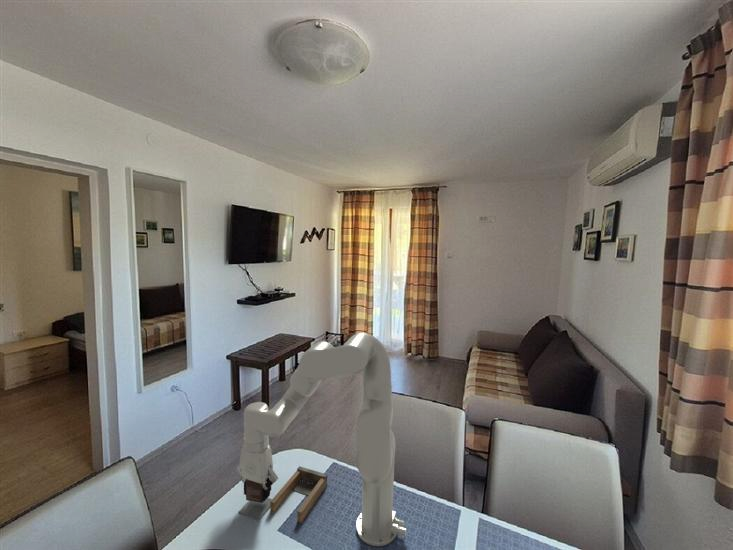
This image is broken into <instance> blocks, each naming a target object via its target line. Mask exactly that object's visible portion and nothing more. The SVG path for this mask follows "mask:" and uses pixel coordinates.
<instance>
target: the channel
mask: <svg viewBox="0 0 733 550" xmlns="http://www.w3.org/2000/svg"><path fill="white" fill-rule="evenodd" d="M327 486H328V474H327V473H323V472H321V471H318V470H313V469H310V468H306V467H303V466H301V465H300V466H298V468H297V469H296V471H295V472H294V473H293V475H291V477H290V478H289V479H288V480H287V481H286V483H285V484H284V485H283V486H282V487H281V488H280V490H279V491H278V492H277V493H276V494H275V495H274V496H273V498H271V499H272V500H271V501H270V508H269V510H270V512H271V513H273V514H275V513H276V512H277V511H278V509H280V507H281V505H283V503H284V502H285V500H286V499H287V498H288V497H289V495H290V494H291V493H292V491H293V492H296V493H300V494H302V495H306V496H307V497H306V499H304V501H303V503H302V504H301V506H300V507H299V508H298V510H297V513H296V514H297V516H296V517H297V523H300V524H303V522H304V520H305V519H306V517H307V516H308V514H309V513H310V511H311V510H312V509H313V507H314V505H315V504H316V502H317V501H318V499H319V498H320V497H321V495H322V494H323V492H324V490H325V489H326V488H327Z"/></svg>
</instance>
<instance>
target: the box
mask: <svg viewBox="0 0 733 550" xmlns="http://www.w3.org/2000/svg"><path fill="white" fill-rule="evenodd" d="M270 478H271V477H270ZM245 481H246V495H245V501H254V502H260V503H263V501H262V489H263V485H262V484H261V483H257V482H254V481H251V480H248V479H246V480H245ZM267 483H268V482H267V480H266V484H267ZM271 491H272V485H271V486H270V492H271Z"/></svg>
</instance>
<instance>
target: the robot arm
mask: <svg viewBox="0 0 733 550" xmlns="http://www.w3.org/2000/svg"><path fill="white" fill-rule="evenodd" d="M389 357H390V356H389V354H388V352H387V350H386V347H385V346H384V344H383V343H382V342H381V341H380V340H379V339H378V338H376V337H375V336H373V335H372V334H370V333H366V332H356V333H355V334H353V335H352V336H350V337H349V338H348V340H347V341H345V343H344V344H343V345H340V346H339V345H337V346H334V345H333V344H332V343H330V342H328V341H318V342H316V343H314V344H312V346H310V347H309V348H308V349H307V350H306V351H304V353H303V354H302V355H301V357H300V358H299V362H298V365H297V367H296V369H295V370H294V372H293V374H292V375H291V376H290V379H289V384H290V385H289V387H288V389H287V390H286V392H285V393H284V394H283V396H282V397H281V399H280V400H278V401H277V403H276V404H275V405H274V406H273V407H272V408H271V409H269V406H268V404H267V403H265V402H264V401H263V402H262V401H255V402H251V403H249V404H248V405H247V406H246V407H245V408H244V410H243V436H242V440H243V445H242V446H241V450H240V457H239V464H238V465H237V466H236V467H235V468H236V470H237V471H238V475H239V476H240V478H241V482H242V483H243V495H245V496H246V481H245V480H246V479H248V480H251V481H254V482H257V483H261V484H262V485H263V489H262V501H265V500H266V499H267V498H269V497H270V496H271V491H270V486H271V487H272V485H273V484H275V483H276V482H277V481H278V480H279V477H278V475H277V474H276V472H275V470H274V463H273V462H274V461H273V454H272V449H271V445H270V441H269V440H270V437H271V438H277V437H279V436H281V435H282V434H284V432H285V431H286V430H287V428H288V427H289V426H290V425H291V424H292V422H293V421H294V419H296V417H297V416H298V414H299V413H300V411H301V409H303V407H304V405H305V404H306V403H307V401H308V400H309V398H310V397H311V396H313V394H314V393H315V391H317V388H318V387H319V386H320V384H321V383H322V381H326V380H327V381H328V380H334V379H339V378H340V379H341V378H344V377H345V378H346V377H351V376H354V375H358V374H360V373H362V403H361V405H360V409H359V411H358V414H357V416H356V421H355V431H354V432H355V433H354V435H355V458H356V459H355V460H356V461H355V462H356V467H357V469H358V472H359V474H360V476H361V477H362V478H361V513H360V514H359V515H358V517H357V519H356V523H355V524H356V526H355V529H356V533H357V535H358V537H359V538H360V539H361V541H362V542H364V543H366V544H367V545H369V546H372V547H383V546H388V545H389V544H390V543H392V542H393V541H395V540H394V539H396V536H397V535H398V534H399V535H400V536H402V537H406V536H407V527H404V526H405V521H404V520H402V519H398V518H397V517H396V511H394V482H395V481H394V480H395V479H394V478H395V457H396V456H395V455H396V438H395V434H394V432H393V430H392V424H393V417H394V408H393V407H394V406H393V388H392V387H393V386H392V372H391V370H392V369H391V362H390V358H389ZM270 477H271V478H270ZM266 480H267V482H268V483H267V484H266Z"/></svg>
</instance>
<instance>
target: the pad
mask: <svg viewBox="0 0 733 550" xmlns="http://www.w3.org/2000/svg"><path fill="white" fill-rule="evenodd" d="M272 499H273V498H269V497H268V498H267V499H266V500H265V501H263V503H260V502H254V501H249V500H247V502H246V503H245V504H244V505H243V506H242V507H241V509H239V510H238V514H240V515H244V516H247V517H249V518H251V519H254V520H257V521H260V520H261V519H262V518H263V516H264V515H265V514H266V513H267V512H268V510H270V501H271V500H272Z"/></svg>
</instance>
